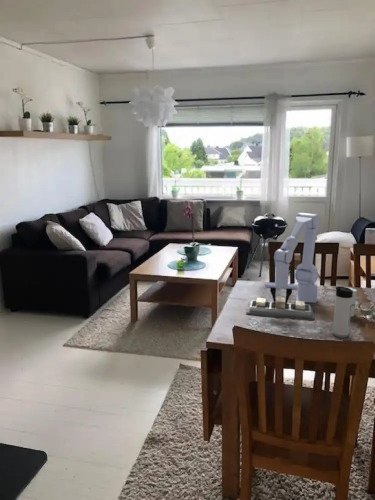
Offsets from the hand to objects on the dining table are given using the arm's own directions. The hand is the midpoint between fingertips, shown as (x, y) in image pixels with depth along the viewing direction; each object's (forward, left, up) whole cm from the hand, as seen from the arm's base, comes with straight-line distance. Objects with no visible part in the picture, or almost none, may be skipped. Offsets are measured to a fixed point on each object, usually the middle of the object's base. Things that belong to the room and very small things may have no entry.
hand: (280, 303), depth 191 cm
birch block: (0, 0, -3) cm, 3 cm away
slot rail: (0, 0, -4) cm, 4 cm away
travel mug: (-24, +20, -4) cm, 32 cm away
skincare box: (-30, -4, -4) cm, 31 cm away
